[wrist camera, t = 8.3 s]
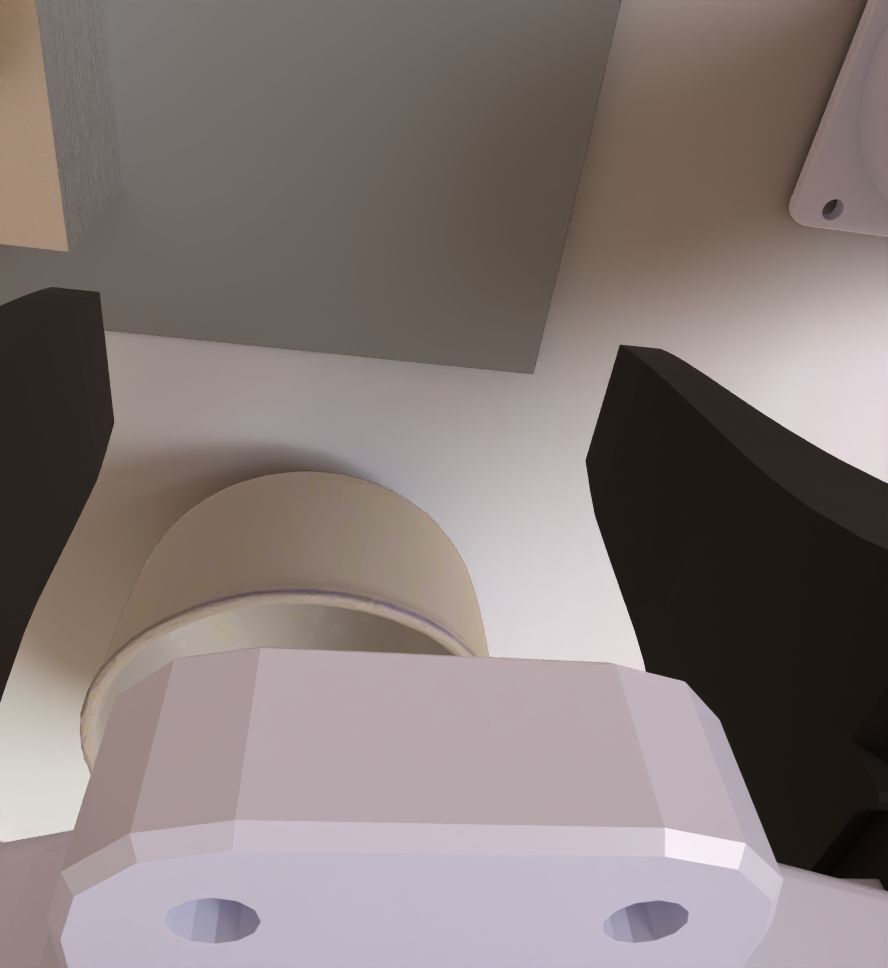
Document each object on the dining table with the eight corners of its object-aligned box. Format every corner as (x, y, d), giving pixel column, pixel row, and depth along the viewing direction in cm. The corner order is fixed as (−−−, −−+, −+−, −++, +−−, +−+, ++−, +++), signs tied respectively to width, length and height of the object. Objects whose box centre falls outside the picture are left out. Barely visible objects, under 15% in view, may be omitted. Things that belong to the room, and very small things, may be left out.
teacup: (79, 529, 26) (-21, 743, 20) (347, 351, 23) (329, 539, 17) (350, 739, 34) (341, 945, 27) (584, 627, 30) (635, 832, 24)
